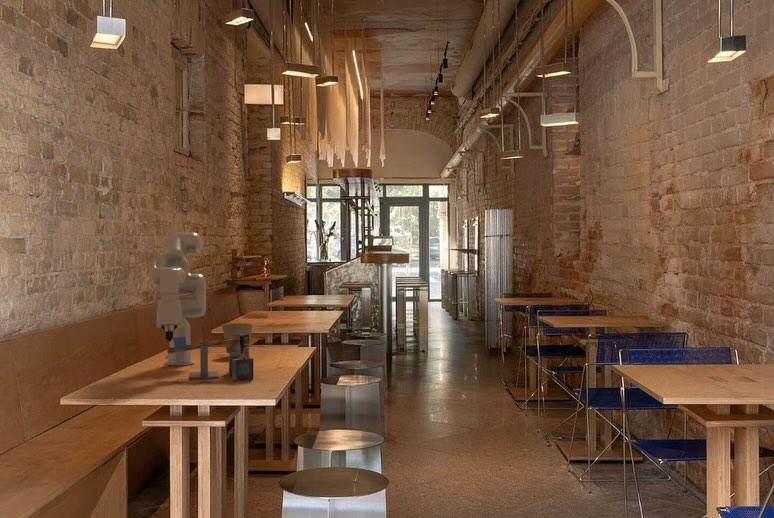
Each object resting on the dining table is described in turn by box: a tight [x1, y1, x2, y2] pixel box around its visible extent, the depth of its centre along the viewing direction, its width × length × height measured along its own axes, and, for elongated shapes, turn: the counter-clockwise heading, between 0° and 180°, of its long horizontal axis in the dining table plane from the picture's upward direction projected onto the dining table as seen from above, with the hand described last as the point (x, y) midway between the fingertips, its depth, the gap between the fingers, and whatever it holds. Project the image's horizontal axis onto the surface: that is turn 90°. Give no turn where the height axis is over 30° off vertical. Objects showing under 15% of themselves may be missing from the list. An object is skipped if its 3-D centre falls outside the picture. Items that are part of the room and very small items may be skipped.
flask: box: [231, 354, 254, 382], centre depth 350 cm, size 9×3×11 cm, turn 121°
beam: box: [167, 337, 241, 355], centre depth 358 cm, size 30×8×6 cm, turn 103°
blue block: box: [173, 336, 187, 349], centre depth 356 cm, size 5×4×5 cm
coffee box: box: [228, 334, 250, 359], centre depth 376 cm, size 9×6×16 cm
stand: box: [189, 346, 236, 381], centre depth 359 cm, size 20×14×14 cm
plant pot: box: [222, 323, 253, 343], centre depth 423 cm, size 15×15×16 cm
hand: (169, 340), depth 355 cm, fingers closed
